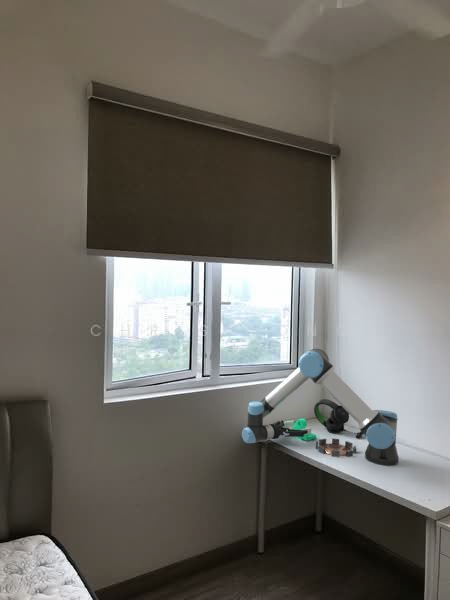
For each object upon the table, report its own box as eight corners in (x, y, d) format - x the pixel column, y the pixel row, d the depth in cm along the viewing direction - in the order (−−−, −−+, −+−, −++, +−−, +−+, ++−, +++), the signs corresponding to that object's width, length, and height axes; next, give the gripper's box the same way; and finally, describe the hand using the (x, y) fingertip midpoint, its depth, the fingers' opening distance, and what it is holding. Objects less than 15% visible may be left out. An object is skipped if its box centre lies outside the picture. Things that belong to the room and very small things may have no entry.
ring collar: (364, 453, 233) (364, 448, 233) (335, 459, 223) (335, 454, 223) (335, 441, 250) (335, 436, 249) (307, 446, 239) (307, 441, 239)
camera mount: (317, 440, 250) (318, 421, 249) (305, 442, 246) (306, 422, 245) (302, 433, 260) (303, 414, 260) (291, 435, 256) (292, 416, 256)
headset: (350, 452, 258) (307, 418, 272) (363, 437, 266) (321, 405, 280) (360, 434, 247) (315, 399, 260) (373, 419, 255) (329, 386, 268)
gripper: (255, 432, 252) (286, 427, 263) (285, 447, 231) (318, 440, 242) (255, 417, 252) (287, 413, 263) (286, 431, 231) (318, 426, 242)
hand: (302, 426), depth 253 cm, fingers open, 13 cm apart
